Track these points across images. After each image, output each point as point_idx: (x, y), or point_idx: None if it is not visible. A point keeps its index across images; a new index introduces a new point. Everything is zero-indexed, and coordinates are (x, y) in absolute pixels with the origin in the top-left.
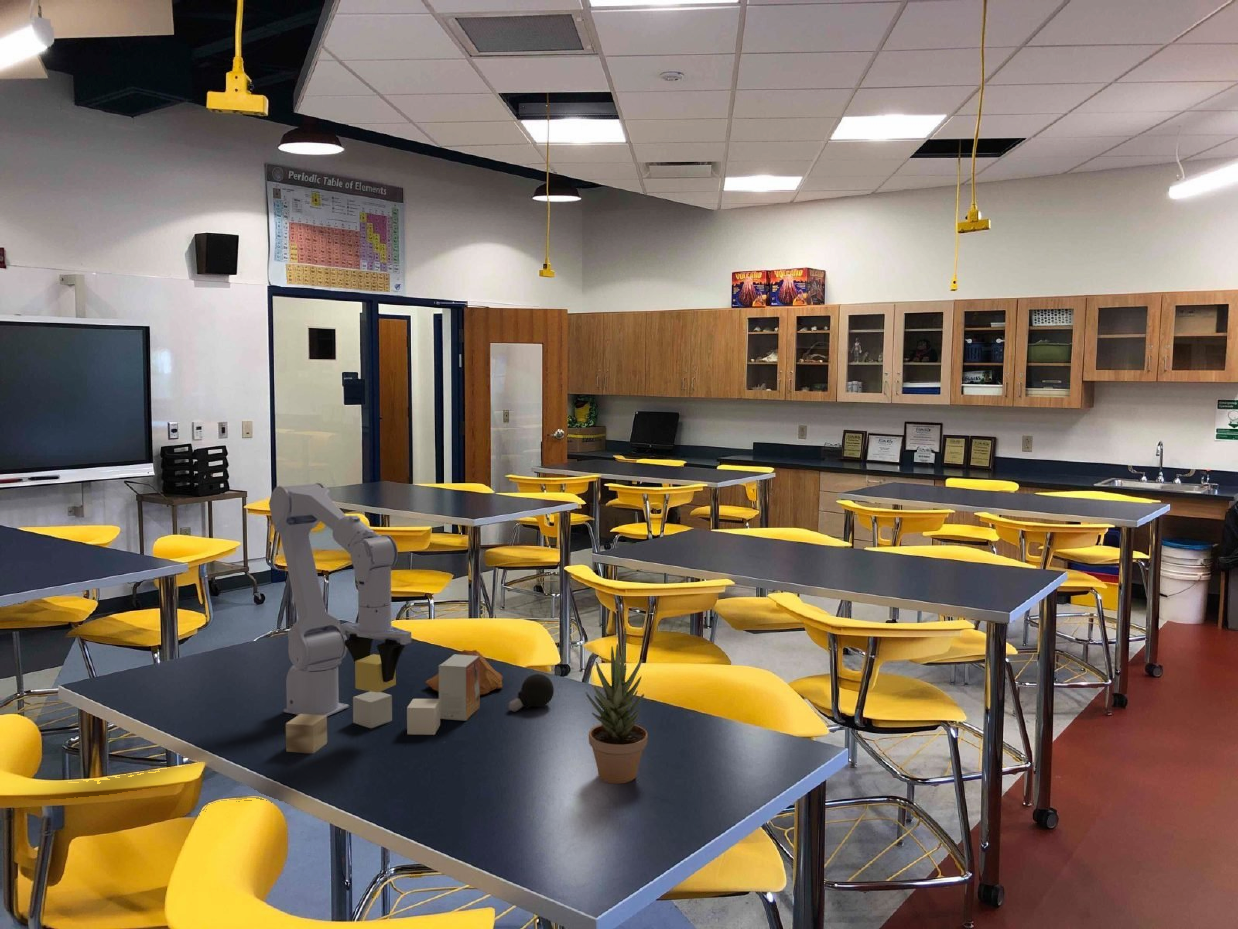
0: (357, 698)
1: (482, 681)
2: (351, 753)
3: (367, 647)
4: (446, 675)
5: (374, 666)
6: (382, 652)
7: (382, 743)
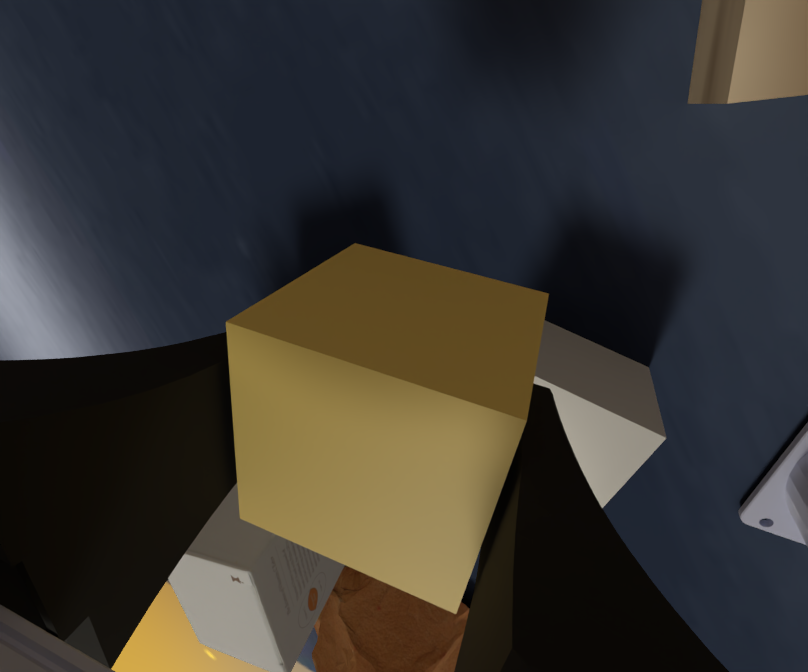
0: (630, 420)
1: (326, 607)
2: (496, 11)
3: (459, 669)
4: (243, 526)
5: (271, 322)
6: (41, 387)
7: (421, 176)
